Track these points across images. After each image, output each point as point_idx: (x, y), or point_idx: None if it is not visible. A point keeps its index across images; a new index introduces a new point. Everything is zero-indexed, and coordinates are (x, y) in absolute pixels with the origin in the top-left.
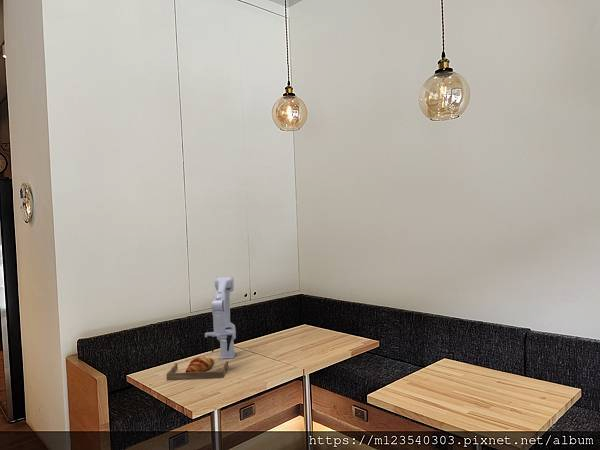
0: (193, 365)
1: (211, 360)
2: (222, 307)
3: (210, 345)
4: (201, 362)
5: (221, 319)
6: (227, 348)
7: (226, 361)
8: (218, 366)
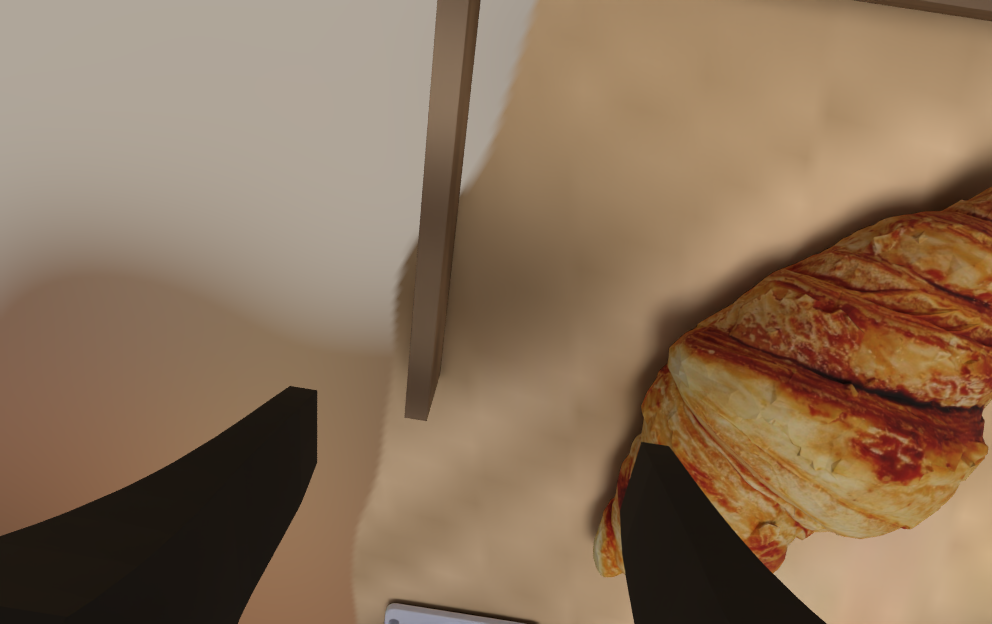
0: (962, 309)
1: None
2: None
3: (746, 554)
4: (817, 374)
5: None
6: (277, 413)
7: (426, 410)
8: (544, 424)
